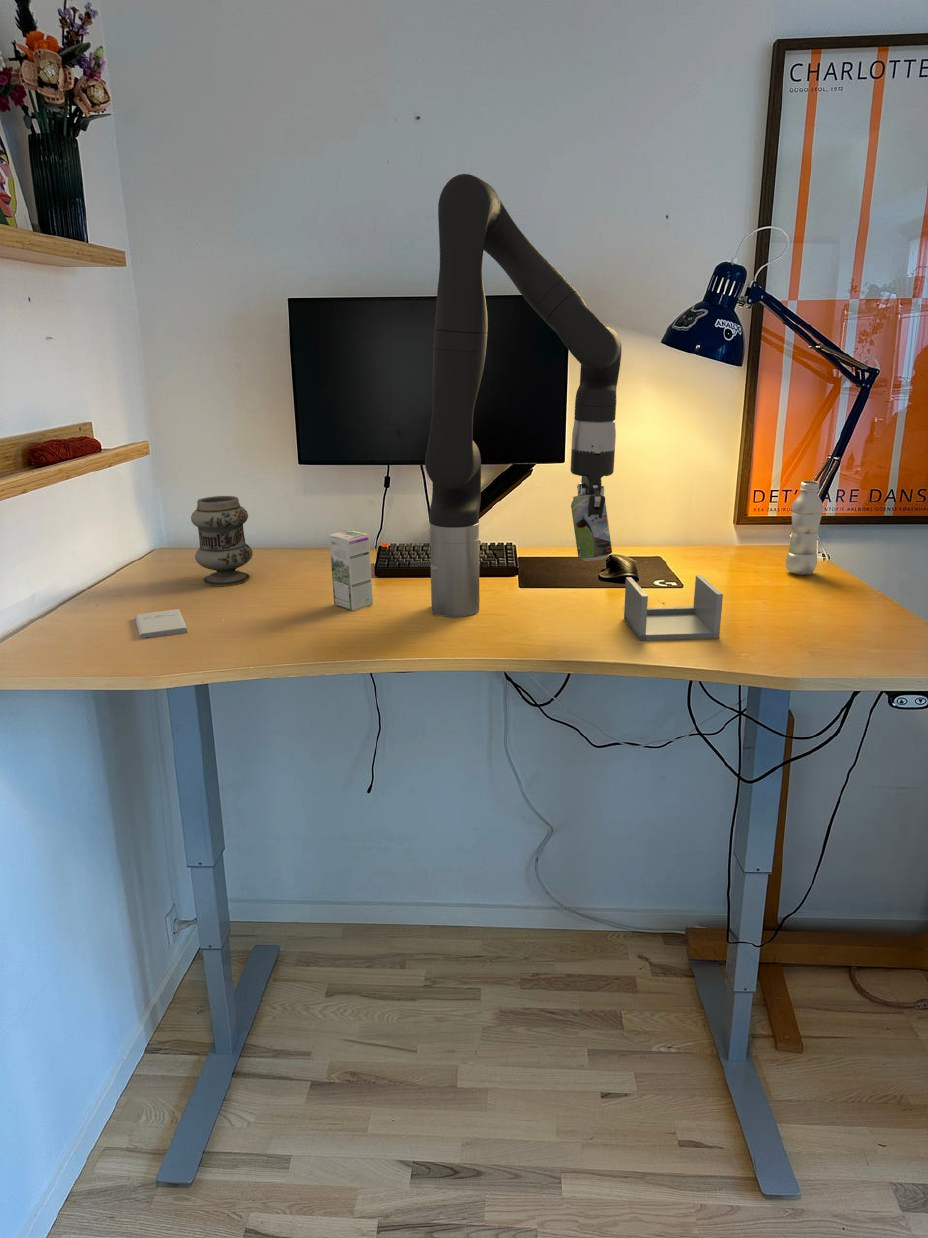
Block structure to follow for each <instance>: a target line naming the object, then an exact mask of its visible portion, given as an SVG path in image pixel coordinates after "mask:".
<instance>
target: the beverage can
mask: <svg viewBox="0 0 928 1238" xmlns="http://www.w3.org/2000/svg"><path fill="white" fill-rule="evenodd" d="M590 496H593V494H592V495H585V496H580V495H579V496H578V495H576V496H572V501H571V505H570V508H571V514H572V522H573V528H574V529H573V530H574V537H575V543H576V550H577V552H576V553H577V557H578V558H579V559H582V561H584V562H591V561H600V560H603V559H607V558H609V557H610V555H611V554H612V553H613V548H612V542H611V534H610V527H609V518H608V512H607V505H606V501H605V502H604V508H603V513H602V518H599V515H598V514H597V515H591V517H588V504H589V498H590ZM600 496H601V494H600Z"/></svg>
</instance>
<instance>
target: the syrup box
mask: <svg viewBox="0 0 928 1238" xmlns="http://www.w3.org/2000/svg"><path fill="white" fill-rule="evenodd" d="M328 537H329V538H328V539H329V551H330V563H331V577H332V578H331V579H332V591H333V592H332V593H333V605H334V606H336V607H338V608H339V607H340V608H342V609H345V610H349V611H356V610H357V611H358V610H361V609H364V608H368V607H370V606H373V605H374V598H373V597H374V596H373V584H372V567H371V566H372V564H371V548H370V547H371V546H370V534H368V533H364V532H359V531H357V530H356V531H355V530H351V529H349V530H342V531H337V532H335V533H333V534H329V536H328Z"/></svg>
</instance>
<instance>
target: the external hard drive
mask: <svg viewBox="0 0 928 1238" xmlns="http://www.w3.org/2000/svg"><path fill="white" fill-rule="evenodd" d="M134 618H135V619H136V620H135V624H136V627H137V628H138V629H137V631H138V632H139V633H138V636H140V637H139V639H140V638H145V639H147V638H146V637H152V638H155V637H154V636H159V637H164V636H163V635H167V636H171V635H170V634H174V635H180V634H179V633H181V634H187V633H188V627H187V625H186V623H185V620H184V617H183V615H182V613H181V611H180V609H177V608H176V609H169V610H161V611H154V612H153V611H152V612H144V613H137V614H135V615H134Z"/></svg>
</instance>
